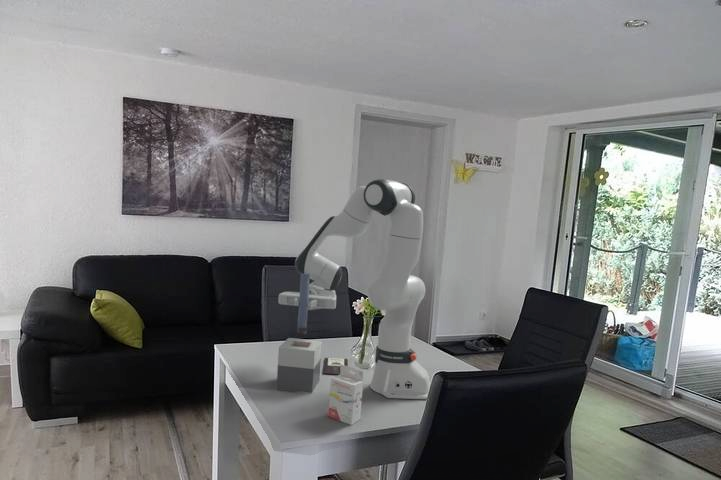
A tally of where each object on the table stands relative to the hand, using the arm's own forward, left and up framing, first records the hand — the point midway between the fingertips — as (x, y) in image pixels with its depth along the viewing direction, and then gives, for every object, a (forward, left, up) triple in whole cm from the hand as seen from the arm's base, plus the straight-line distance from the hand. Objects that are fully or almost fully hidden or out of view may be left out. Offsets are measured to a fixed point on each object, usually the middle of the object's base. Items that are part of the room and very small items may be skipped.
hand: (303, 304), depth 163 cm
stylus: (0, -1, -10) cm, 10 cm away
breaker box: (0, -1, -28) cm, 28 cm away
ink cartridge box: (-19, +21, -28) cm, 40 cm away
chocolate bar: (-9, -23, -28) cm, 38 cm away
